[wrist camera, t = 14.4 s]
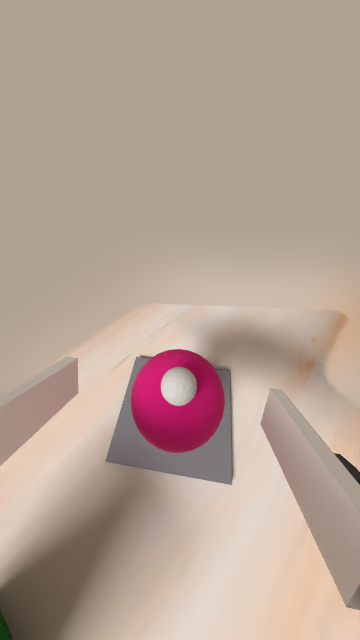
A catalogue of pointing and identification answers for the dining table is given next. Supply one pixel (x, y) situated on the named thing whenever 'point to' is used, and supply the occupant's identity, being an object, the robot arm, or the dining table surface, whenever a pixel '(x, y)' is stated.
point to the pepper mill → (177, 401)
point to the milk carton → (3, 630)
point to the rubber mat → (198, 463)
